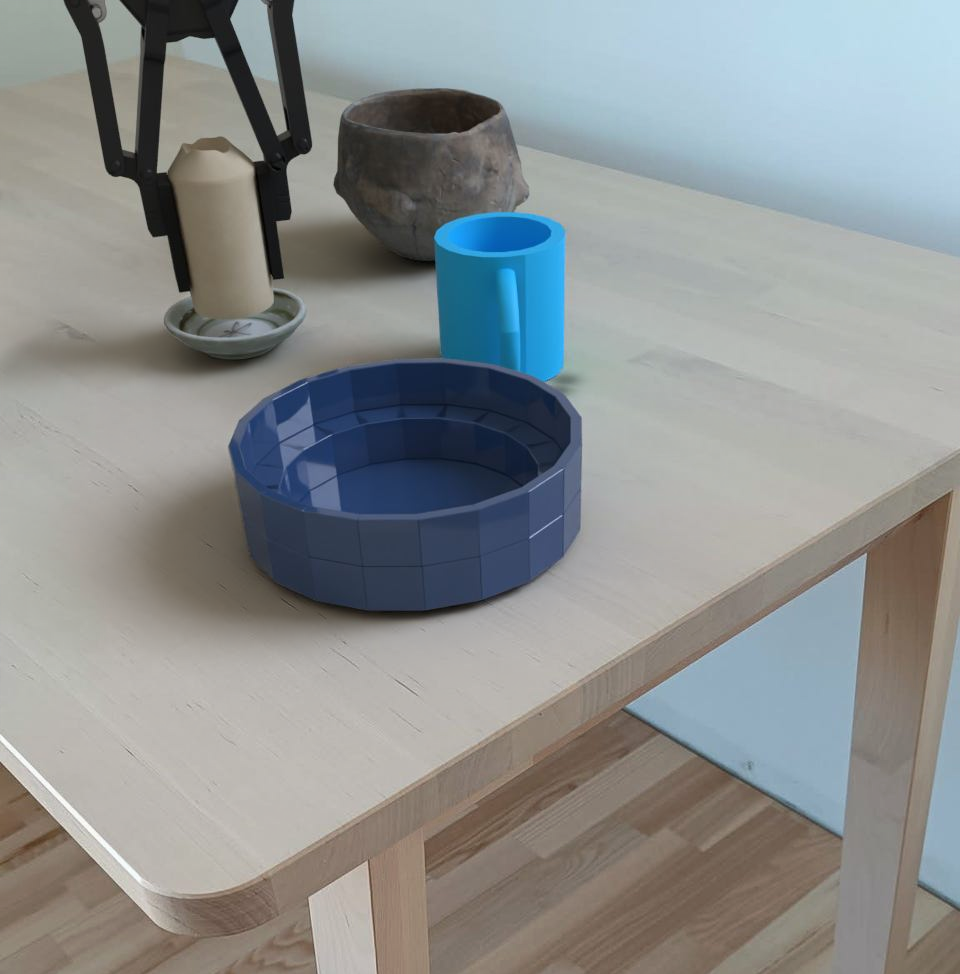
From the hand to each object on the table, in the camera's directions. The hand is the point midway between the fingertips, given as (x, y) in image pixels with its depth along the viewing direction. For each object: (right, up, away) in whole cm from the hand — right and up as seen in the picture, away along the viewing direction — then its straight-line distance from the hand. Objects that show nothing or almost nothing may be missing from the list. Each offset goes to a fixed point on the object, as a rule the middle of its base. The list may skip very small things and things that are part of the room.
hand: (229, 277), depth 85 cm
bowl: (+13, +9, +16) cm, 23 cm away
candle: (0, -1, +1) cm, 2 cm away
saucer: (0, -3, +3) cm, 5 cm away
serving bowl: (+13, -21, -15) cm, 29 cm away
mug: (+18, -7, -2) cm, 20 cm away
